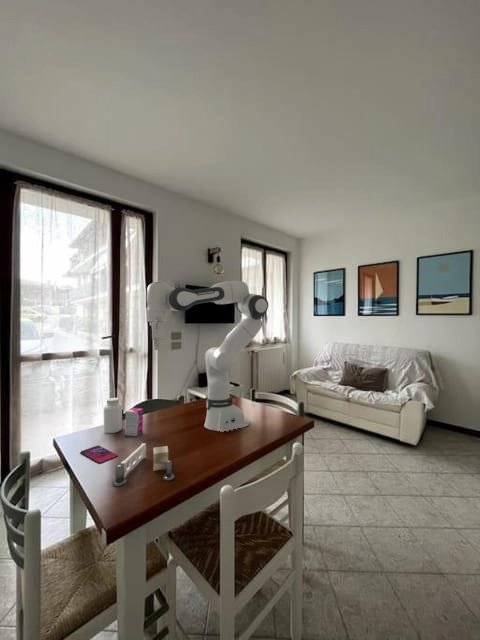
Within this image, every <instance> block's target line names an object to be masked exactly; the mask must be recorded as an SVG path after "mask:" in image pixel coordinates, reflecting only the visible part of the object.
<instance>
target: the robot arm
mask: <svg viewBox="0 0 480 640" xmlns="http://www.w3.org/2000/svg"><path fill="white" fill-rule="evenodd" d="M249 291H250V290H249V286H248V284H247V283H246V282H244V281H240V280H229V281H222V282H217V283H215V284H213V285H212V286H211V287H207V288H198V289H191V288H187V287H181V286H179V287H176V288H175V287H172V286H171V285H169V284H167V282H165V281H155V282H152V283H150V284H149V285H148V286H147V289H146V305H147V308H146V319H145V320H146V323H147V322H149V325H148V326H150V327H151V340H153V344H154V345H153V346H154V348H153V349H154V351H158V350H159V349H160V348H159V347H160V340H161V339H162V330H163V329H162V328H163V326H165V323H167V322H168V310H170V311H173V312H178V311H179V312H184V311H187V310H189V309H191V308H193V306H195V305H199V304H205V303H214V304H216V305H227V304H235V307H236V310H237V311H238V312H239V313H241V314H243V318H242V319H241V321H239V322H238V324H236V325H235V327H234V328H232V330H231V331H229V332H228V334H227V335H226V336H225V339H224V341H223V342H222V343H221V344H220V346H214V347H211V348H209V349H208V350H206V352H205V354H204V361H205V369H206V370H205V372H206V378H207V397H206V416H205V422H204V425H203V426H204V428H206V429H208V430H210V431H217V432H219V431H220V432H219V433H224V431H226V432H229V430H231V431H234V430H233V429H236V430H238V429H237V428H241V427H245V426H248V425H249V426H250V424H249V423H250V422H249V420H248V419H246V417H245V414H244V412H243V411H242V410H241V408H239V407H238V406H237V405H235V404H236V402H237V400H236V398H234V397H232V396H230V391H231V390H230V388H231V387H230V385H231V384H230V378H229V374H228V372H229V371H231V370H232V369H233V368H234V366H235V364H236V363H235V362H236V361H237V359H238V357H239V356H240V354H241V353H242V352H243V350H244V349H245V348H246V347H247V346H248V344H249V343H250V342H251V341H252V340H253V339H254V338H255V337H256V335H257V334H258V333H259V332H260V330H261V329H262V327H263V321H262V319H264V317H265V316H266V313H267V312H268V308H269V301H268V299H267V298H266V297H265V296H264V295H260V294H254V293H250V292H249ZM249 426H248V427H249ZM241 429H242V428H241Z"/></svg>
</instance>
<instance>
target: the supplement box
mask: <svg viewBox="0 0 480 640" xmlns="http://www.w3.org/2000/svg"><path fill="white" fill-rule="evenodd" d="M143 423H144V408H137V407H132V408H130V409H128V410H126V411H125V422H124V426H125V427H124V437H127V438H129V437H130V438H137V437H138V436H140V435H141V434H143V431H144V430H143V429H144V427H143Z"/></svg>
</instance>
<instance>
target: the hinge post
mask: <svg viewBox="0 0 480 640" xmlns="http://www.w3.org/2000/svg"><path fill="white" fill-rule="evenodd" d="M127 482H128V479H127V478H126V477H125V478H124V464H121V463H118V464H117V465H115V479H113V480H112V482H111V485H112V486H113V487H122V486H124V485H126V484H127Z"/></svg>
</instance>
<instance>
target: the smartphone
mask: <svg viewBox="0 0 480 640" xmlns="http://www.w3.org/2000/svg"><path fill="white" fill-rule="evenodd" d="M79 454H80V455H82V456H84V457H85V458H87V459H89V460H91V461H93V462H95V463H96V464H97V465H98V464H99V465H100V464H103V463H106V462H108V461H110V460H114V459H115V458H117V457H118V456H119V455H118V454H117V453H114V452H113V451H110V450H109V449H107V448H105V447H102V446H100V445H95V446H92V447H89V448H87V449H84V450H80V452H79Z"/></svg>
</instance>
